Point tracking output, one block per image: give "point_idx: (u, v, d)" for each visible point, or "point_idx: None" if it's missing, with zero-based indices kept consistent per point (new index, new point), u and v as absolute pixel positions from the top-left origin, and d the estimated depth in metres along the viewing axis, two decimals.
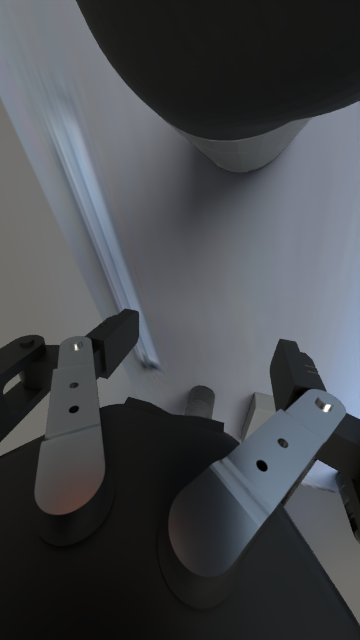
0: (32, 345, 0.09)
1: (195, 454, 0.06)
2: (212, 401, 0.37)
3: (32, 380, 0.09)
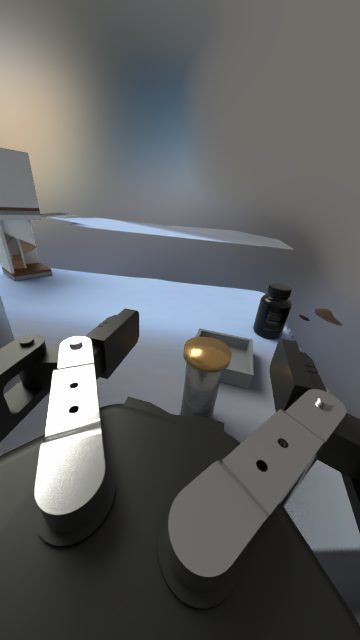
0: (32, 345, 0.09)
1: (195, 454, 0.06)
2: None
3: (32, 380, 0.09)
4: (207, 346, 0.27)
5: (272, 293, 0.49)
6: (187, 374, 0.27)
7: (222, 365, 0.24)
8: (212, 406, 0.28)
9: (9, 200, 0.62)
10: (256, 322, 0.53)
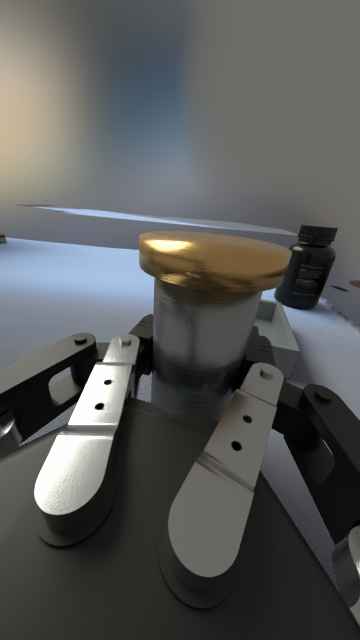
0: (85, 343, 0.09)
1: (195, 454, 0.06)
2: None
3: (79, 376, 0.09)
4: (212, 238, 0.09)
5: (307, 235, 0.32)
6: (154, 324, 0.09)
7: (270, 265, 0.06)
8: None
9: None
10: (280, 285, 0.36)
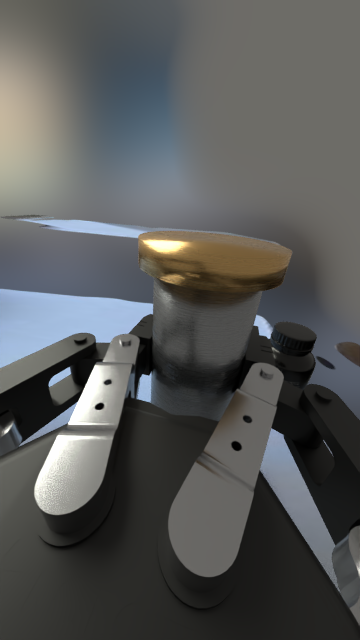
0: (86, 343, 0.09)
1: (195, 454, 0.06)
2: None
3: (79, 376, 0.09)
4: (211, 238, 0.09)
5: (281, 344, 0.26)
6: (154, 324, 0.09)
7: (270, 265, 0.06)
8: None
9: None
10: None
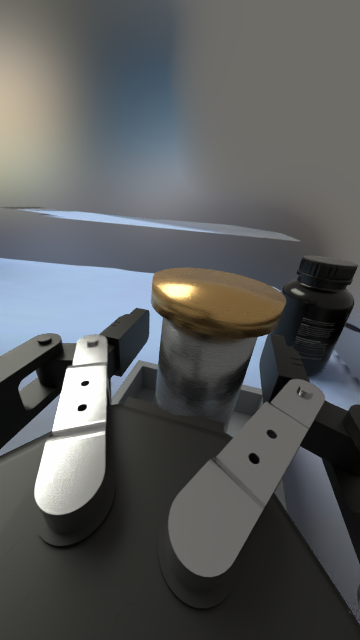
0: (50, 343, 0.09)
1: (195, 454, 0.06)
2: None
3: (48, 378, 0.09)
4: (216, 280, 0.10)
5: (312, 275, 0.21)
6: (161, 354, 0.10)
7: (267, 316, 0.08)
8: None
9: None
10: None
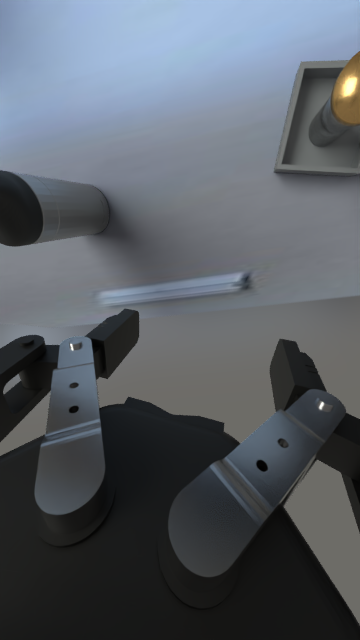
0: (32, 345, 0.09)
1: (195, 454, 0.06)
2: None
3: (32, 380, 0.09)
4: None
5: None
6: (329, 115, 0.25)
7: None
8: None
9: None
10: None
